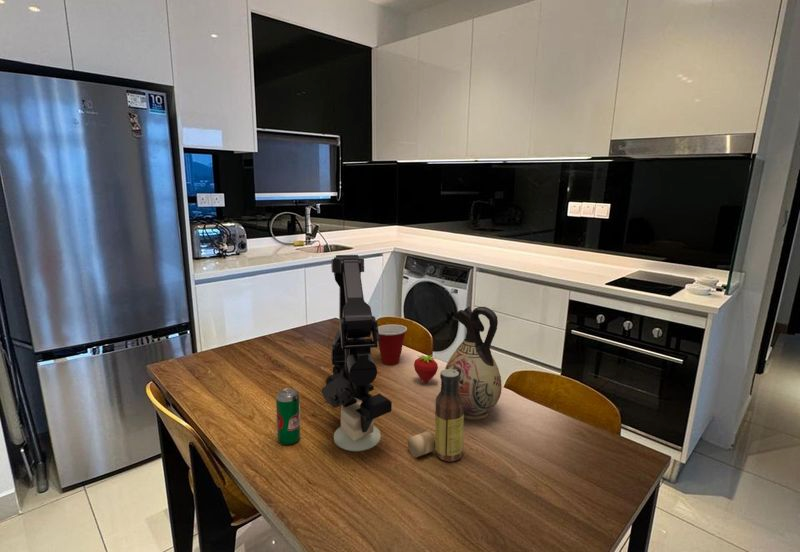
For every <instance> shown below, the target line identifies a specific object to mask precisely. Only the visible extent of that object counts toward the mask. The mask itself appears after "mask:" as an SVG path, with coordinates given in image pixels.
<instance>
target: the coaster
mask: <svg viewBox="0 0 800 552" xmlns="http://www.w3.org/2000/svg"><path fill="white" fill-rule="evenodd" d="M333 441H334V443H335V445H336V446H338V448H340V449H342V450H345V451H349V452H361V451H362V452H363V451H367V450H370V449H373V448H374V447H375V446H377V445H378V443H380V441H381V431H380V429H379V428H378V427H377V426H376V425H374V424H373V433H370V434H368V435H366V436H364V437H362V438H359V439H357V440H355V441H354V440H352V439H351V438H350V437H349V436H348V435H346V434H345V433H344V432H343V431H341V426H339V427H338V428H337V429H336V430H335V432H334V434H333Z"/></svg>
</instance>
